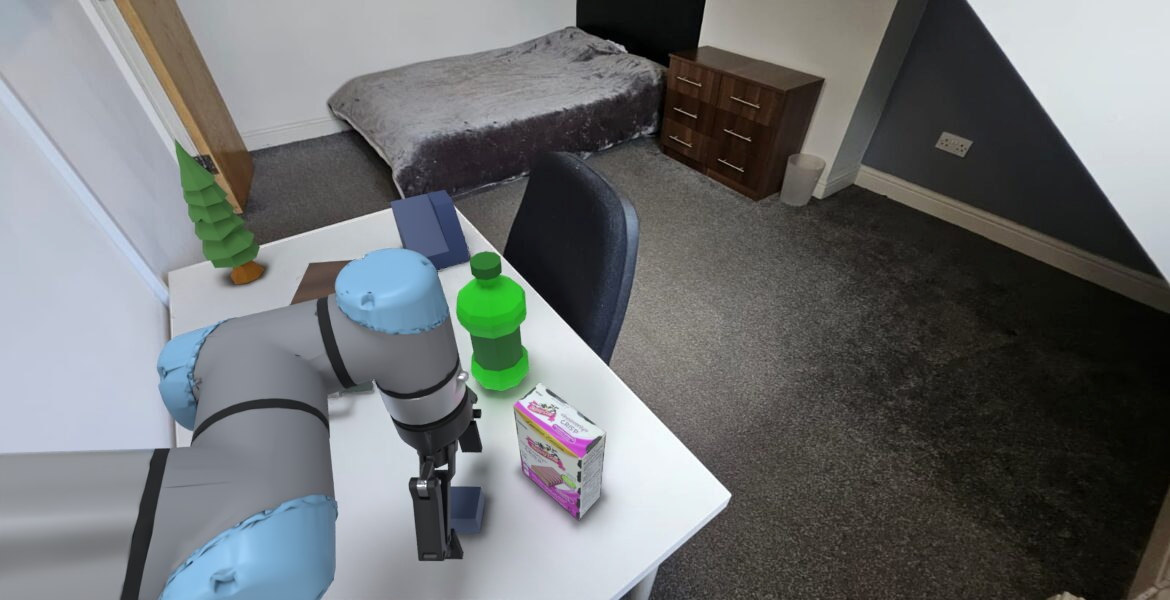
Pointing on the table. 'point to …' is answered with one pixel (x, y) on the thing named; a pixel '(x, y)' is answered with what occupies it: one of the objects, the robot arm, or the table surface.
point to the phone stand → (431, 228)
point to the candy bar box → (560, 449)
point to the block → (466, 509)
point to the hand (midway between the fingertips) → (462, 498)
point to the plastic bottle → (494, 323)
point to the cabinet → (318, 281)
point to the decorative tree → (217, 222)
